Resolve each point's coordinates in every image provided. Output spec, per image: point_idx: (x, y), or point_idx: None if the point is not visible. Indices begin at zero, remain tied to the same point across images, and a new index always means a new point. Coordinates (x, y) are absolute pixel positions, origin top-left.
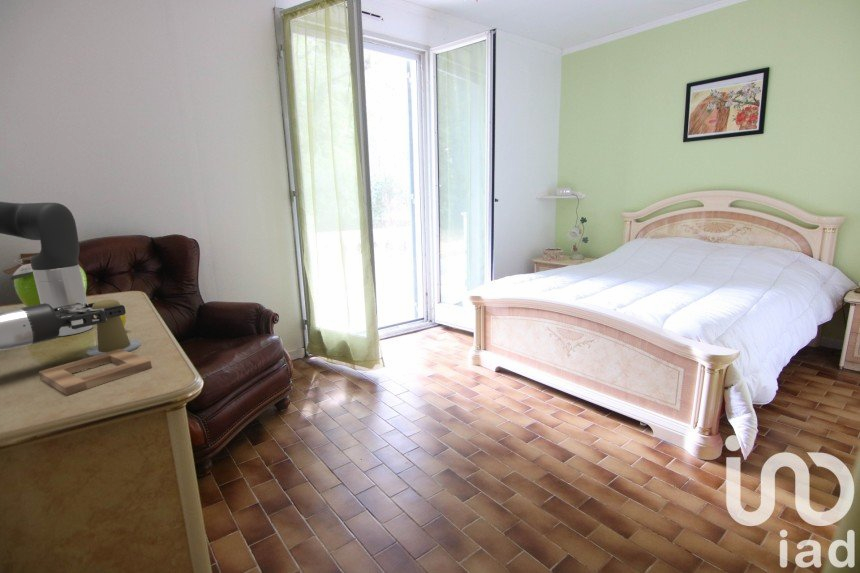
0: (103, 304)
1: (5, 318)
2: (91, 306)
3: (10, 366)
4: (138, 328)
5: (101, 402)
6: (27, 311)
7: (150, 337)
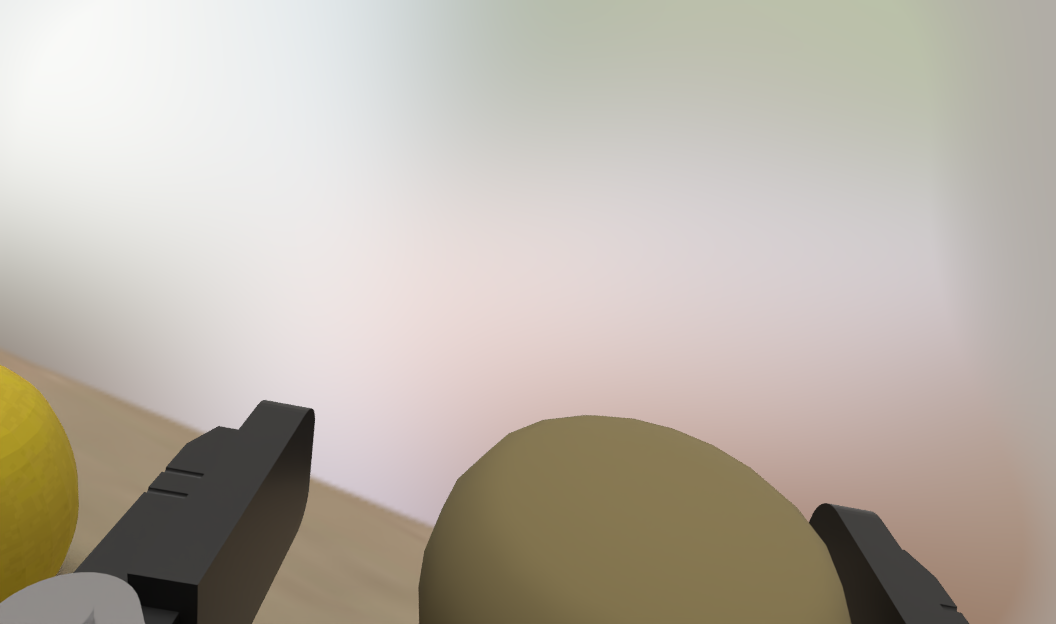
0: (833, 606)
1: None
2: (207, 604)
3: None
4: (96, 502)
5: None
6: None
7: None
